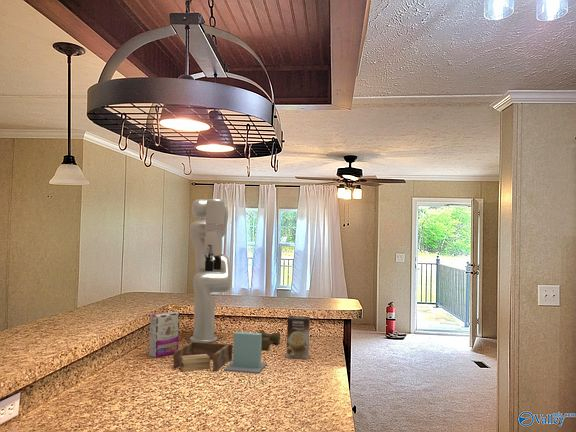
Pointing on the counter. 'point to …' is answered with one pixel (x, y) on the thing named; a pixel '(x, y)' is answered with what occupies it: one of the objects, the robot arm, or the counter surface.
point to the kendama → (269, 339)
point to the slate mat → (245, 368)
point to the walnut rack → (213, 350)
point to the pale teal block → (247, 349)
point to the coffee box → (298, 337)
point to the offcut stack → (195, 362)
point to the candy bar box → (164, 334)
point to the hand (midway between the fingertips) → (213, 270)
